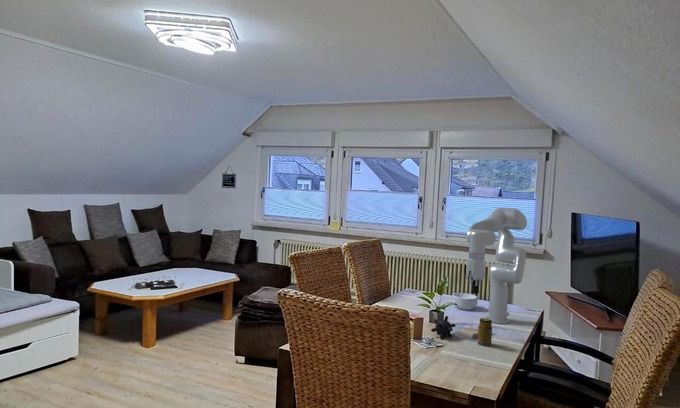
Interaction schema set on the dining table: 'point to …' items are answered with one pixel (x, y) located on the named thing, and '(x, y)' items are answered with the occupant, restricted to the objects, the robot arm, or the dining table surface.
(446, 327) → the toy ball
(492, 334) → the rubber mat
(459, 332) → the birch tile
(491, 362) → the dining table surface
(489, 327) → the condiment
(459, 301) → the paper bowls
